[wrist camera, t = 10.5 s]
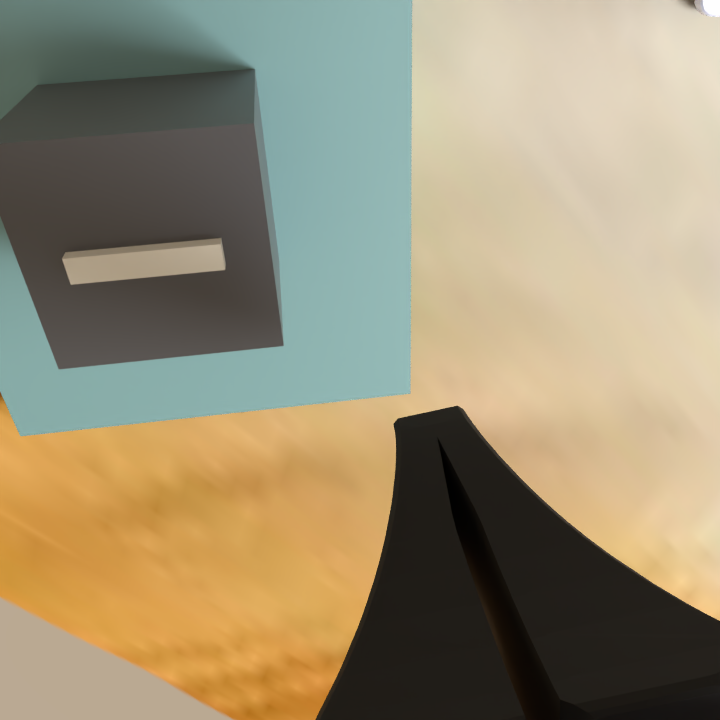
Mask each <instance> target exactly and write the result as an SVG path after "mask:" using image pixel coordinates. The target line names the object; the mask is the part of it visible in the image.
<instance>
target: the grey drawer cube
mask: <svg viewBox="0 0 720 720" xmlns="http://www.w3.org/2000/svg"><path fill="white" fill-rule="evenodd" d="M0 217H1V220H2V222H3V225H4V228H5V230H6V233H7V235H8V238H9V241H10V243H11V246H12V249H13V251H14V254H15V256H16V259H17V262H18V264H19V267H20V269H21V272H22V275H23V277H24V280H25V283H26V285H27V288H28V290H29V293H30V296H31V298H32V301H33V304H34V306H35V309H36V311H37V314H38V317H39V319H40V322H41V324H42V327H43V330H44V332H45V335H46V338H47V340H48V343H49V345H50V348H51V351H52V353H53V356H54V359H55V361H56V364H57V366H58V369H69V368H79V367H88V366H98V365H107V364H117V363H126V362H136V361H146V360H155V359H165V358H174V357H184V356H193V355H203V354H213V353H222V352H232V351H241V350H251V349H260V348H270V347H280V346H284V341H283V323H282V305H281V286H280V268H279V255H278V247H277V239H276V231H275V223H274V215H273V207H272V199H271V192H270V184H269V176H268V168H267V160H266V152H265V144H264V136H263V128H262V120H261V112H260V105H259V97H258V89H257V81H256V73H255V69H245V70H232V71H218V72H205V73H191V74H178V75H164V76H151V77H137V78H124V79H110V80H97V81H83V82H70V83H56V84H43V85H37V86H36V87H34V88H33V89H32V90H31V91H30V92H29V93H28V94H27V95H26V96H25V97H24V98H23V99H22V100H21V101H20V102H19V103H18V104H17V105H16V106H15V107H13V108H12V109H11V110H10V111H9V112H8V113H7V114H6V115H5V116H4V117H3V118H2V119H1V120H0Z"/></svg>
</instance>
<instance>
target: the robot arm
mask: <svg viewBox="0 0 720 720" xmlns="http://www.w3.org/2000/svg"><path fill="white" fill-rule="evenodd" d="M694 4H695V6H696V9H697V11H699V12H700V13H701V14H703V15H706V16H712V17H719V16H720V0H695V3H694ZM394 429H395V435H396V470H395V480H394V489H393V498H392V505H391V510H390V515H389V521H388V526H387V531H386V536H385V541H384V545H383V549H382V553H381V557H380V561H379V565H378V568H377V572H376V576H375V579H374V582H373V585H372V588H371V591H370V594H369V598H368V601H367V604H366V607H365V610H364V612H363V615H362V618H361V621H360V623H359V626H358V628H357V631H356V633H355V636H354V638H353V640H352V643H351V645H350V648H349V650H348V652H347V655H346V657H345V660H344V662H343V665H342V667H341V669H340V671H339V673H338V675H337V678H336V680H335V682H334V684H333V686H332V688H331V690H330V692H329V694H328V696H327V698H326V700H325V702H324V704H323V706H322V708H321V709H320V711H319V713H318V715H317V718H316V720H720V621H718V620H717V619H715V618H713V617H711V616H709V615H707V614H705V613H703V612H701V611H700V610H698V609H696V608H694V607H692V606H691V605H689V604H687V603H685V602H683V601H682V600H680V599H678V598H677V597H675V596H673V595H672V594H670V593H668V592H667V591H665V590H663V589H662V588H660V587H658V586H657V585H655V584H653V583H652V582H650V581H649V580H647V579H646V578H644V577H643V576H641V575H640V574H638V573H637V572H635V571H634V570H632V569H631V568H629V567H628V566H626V565H625V564H623V563H622V562H620V561H619V560H617V559H616V558H614V557H613V556H611V555H610V554H608V553H607V552H606V551H604V550H603V549H602V548H600V547H599V546H598V545H596V544H595V543H594V542H592V541H591V540H590V539H588V538H587V537H586V536H585V535H583V534H582V533H581V532H580V531H578V530H577V529H576V528H575V527H573V526H572V525H571V524H570V523H568V522H567V521H566V520H565V519H564V518H562V517H561V516H560V515H559V514H558V513H557V512H556V511H554V510H553V509H552V508H551V507H550V506H549V505H548V504H547V503H546V502H545V501H543V500H542V499H541V498H540V497H539V496H538V495H537V494H536V493H535V492H534V491H533V490H532V489H531V488H530V487H529V486H528V485H527V484H526V483H525V482H524V481H523V480H522V479H521V478H520V477H519V476H518V475H517V474H516V473H515V472H514V471H513V470H512V469H511V468H510V467H509V466H508V465H507V464H506V462H505V461H504V460H503V459H502V458H501V457H500V456H499V455H498V454H497V453H496V451H495V450H494V449H493V448H492V447H491V446H490V444H489V443H488V442H487V441H486V440H485V438H484V437H483V436H482V435H481V433H480V432H479V431H478V430H477V428H476V427H475V426H474V424H473V423H472V421H471V420H470V419H469V417H468V416H467V414H466V413H465V411H464V410H463V409H462V408H460V407H459V406H454V407H450V408H445V409H440V410H436V411H431V412H426V413H422V414H417V415H412V416H408V417H403V418H398V419H397V421H396V422H395V423H394Z"/></svg>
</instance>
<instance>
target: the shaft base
mask: <svg viewBox="0 0 720 720" xmlns="http://www.w3.org/2000/svg"><path fill="white" fill-rule="evenodd" d="M245 69H255V73H256V81H257V89H258V97H259V105H260V112H261V120H262V128H263V136H264V144H265V152H266V160H267V168H268V176H269V184H270V192H271V199H272V207H273V215H274V223H275V231H276V239H277V247H278V255H279V268H280V286H281V305H282V323H283V341H284V346H280V347H270V348H260V349H251V350H241V351H232V352H222V353H213V354H203V355H193V356H184V357H174V358H165V359H155V360H146V361H136V362H126V363H117V364H107V365H98V366H88V367H79V368H69V369H58V366H57V364H56V361H55V359H54V356H53V353H52V351H51V348H50V345H49V343H48V340H47V338H46V335H45V332H44V330H43V327H42V324H41V322H40V319H39V317H38V314H37V311H36V309H35V306H34V304H33V301H32V298H31V296H30V293H29V290H28V288H27V285H26V283H25V280H24V277H23V275H22V272H21V269H20V267H19V264H18V262H17V259H16V256H15V254H14V251H13V249H12V246H11V243H10V241H9V238H8V235H7V233H6V230H5V228H4V225H3V222H2V220H1V217H0V392H1V394H2V397H3V399H4V401H5V403H6V405H7V408H8V410H9V412H10V414H11V416H12V419H13V421H14V423H15V425H16V428H17V430H18V432H19V434H20V436H27V435H37V434H46V433H55V432H64V431H73V430H82V429H91V428H101V427H110V426H119V425H128V424H137V423H146V422H156V421H165V420H174V419H183V418H192V417H201V416H210V415H220V414H229V413H238V412H247V411H256V410H265V409H274V408H284V407H293V406H302V405H311V404H320V403H329V402H338V401H348V400H357V399H366V398H375V397H384V396H393V395H402V394H410V351H411V118H412V0H0V120H1V119H2V118H3V117H4V116H5V115H6V114H7V113H8V112H9V111H10V110H11V109H12V108H13V107H15V106H16V105H17V104H18V103H19V102H20V101H21V100H22V99H23V98H24V97H25V96H26V95H27V94H28V93H29V92H30V91H31V90H32V89H33V88H34V87H36V86H37V85H43V84H56V83H70V82H83V81H97V80H110V79H124V78H137V77H151V76H164V75H178V74H191V73H205V72H218V71H232V70H245Z"/></svg>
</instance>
